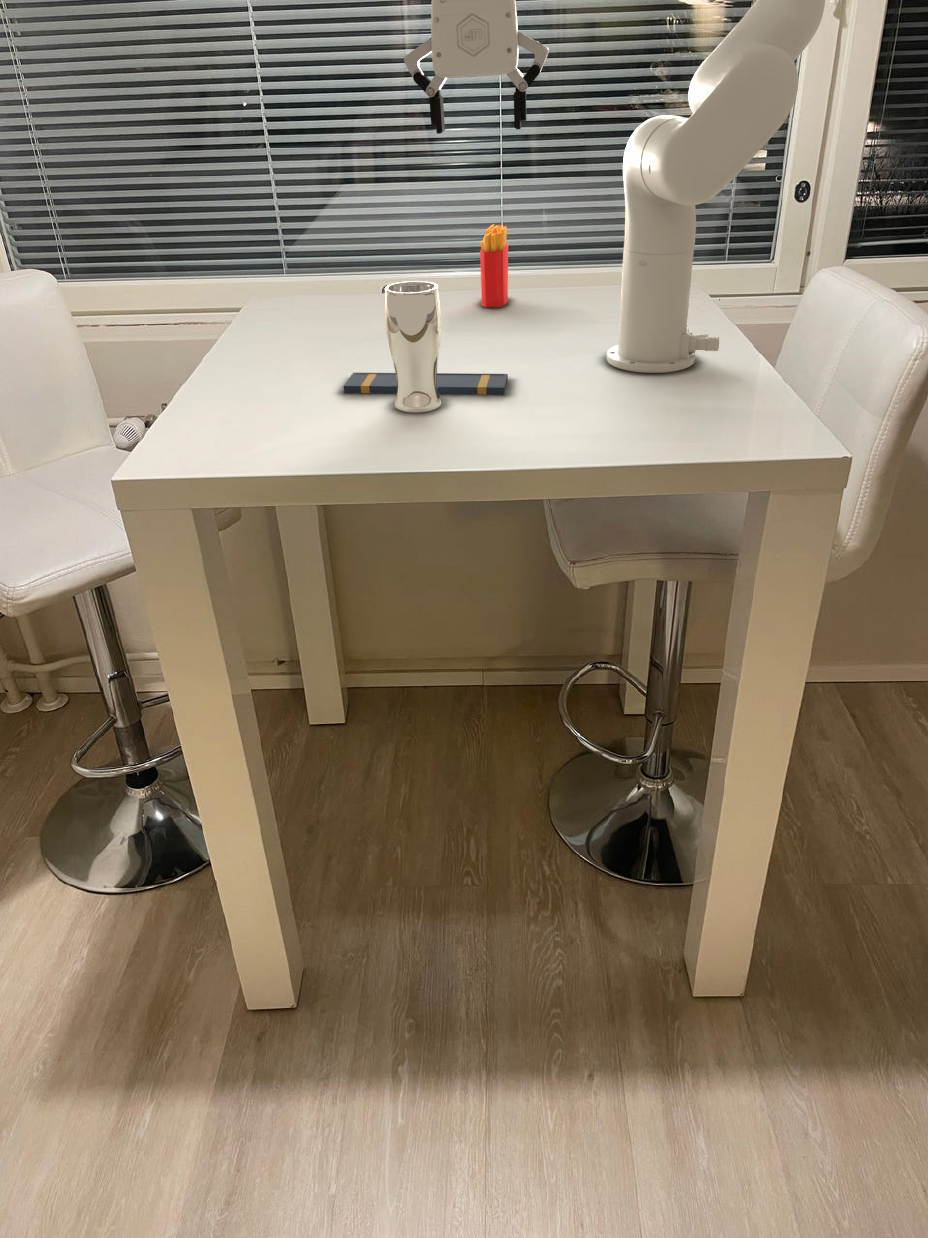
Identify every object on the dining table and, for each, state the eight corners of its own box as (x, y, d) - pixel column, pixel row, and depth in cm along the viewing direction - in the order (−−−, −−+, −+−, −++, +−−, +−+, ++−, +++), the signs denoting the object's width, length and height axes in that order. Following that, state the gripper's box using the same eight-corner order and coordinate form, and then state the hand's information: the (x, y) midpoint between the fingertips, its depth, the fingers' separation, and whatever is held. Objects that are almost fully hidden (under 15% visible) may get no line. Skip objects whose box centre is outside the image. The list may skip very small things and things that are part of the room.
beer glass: (438, 415, 121) (432, 293, 113) (385, 412, 122) (376, 292, 114) (449, 397, 126) (445, 280, 118) (399, 395, 128) (391, 280, 120)
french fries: (487, 296, 174) (486, 221, 168) (510, 297, 174) (510, 221, 167) (478, 309, 167) (476, 230, 160) (502, 309, 166) (501, 230, 159)
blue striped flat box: (507, 380, 132) (507, 372, 131) (504, 394, 127) (504, 386, 126) (353, 379, 134) (353, 371, 134) (344, 393, 129) (343, 385, 129)
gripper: (392, -34, 106) (405, 137, 115) (547, -46, 104) (548, 129, 113) (402, -31, 112) (414, 131, 121) (548, -42, 110) (549, 123, 119)
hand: (479, 130), depth 117 cm, fingers open, 9 cm apart
